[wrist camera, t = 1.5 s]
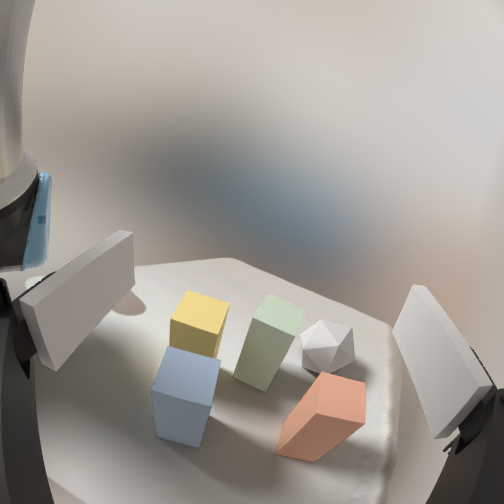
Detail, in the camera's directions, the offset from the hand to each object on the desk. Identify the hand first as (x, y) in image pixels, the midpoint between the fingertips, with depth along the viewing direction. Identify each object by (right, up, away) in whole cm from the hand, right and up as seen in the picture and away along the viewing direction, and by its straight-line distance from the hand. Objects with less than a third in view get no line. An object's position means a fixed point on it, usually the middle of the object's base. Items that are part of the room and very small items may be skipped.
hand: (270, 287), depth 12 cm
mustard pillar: (-9, -15, +23) cm, 28 cm away
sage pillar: (0, -16, +25) cm, 30 cm away
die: (+9, -16, +29) cm, 35 cm away
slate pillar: (-9, -19, +16) cm, 26 cm away
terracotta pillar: (+5, -22, +17) cm, 28 cm away
